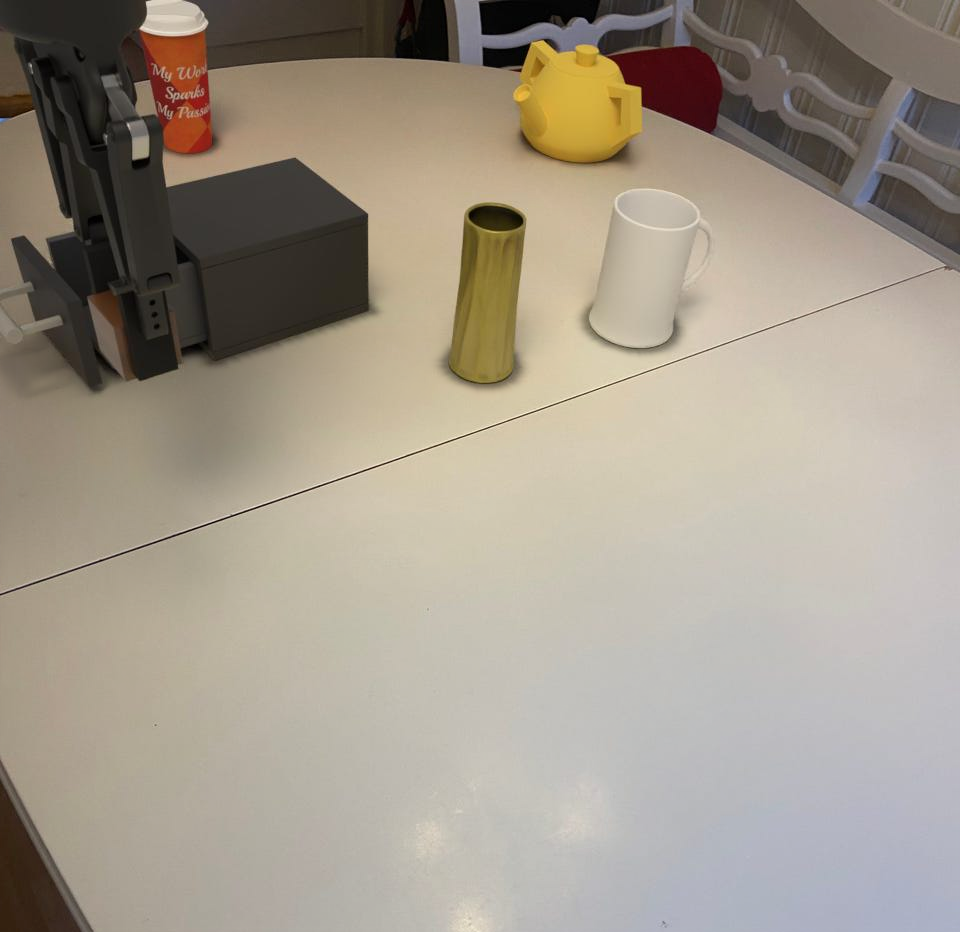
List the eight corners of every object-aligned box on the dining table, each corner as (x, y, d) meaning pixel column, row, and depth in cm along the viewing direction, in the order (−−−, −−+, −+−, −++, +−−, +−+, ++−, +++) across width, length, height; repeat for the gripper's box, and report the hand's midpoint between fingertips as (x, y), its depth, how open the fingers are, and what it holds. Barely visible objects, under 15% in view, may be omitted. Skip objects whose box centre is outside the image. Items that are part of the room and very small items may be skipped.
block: (125, 382, 62) (113, 327, 59) (99, 350, 64) (86, 295, 61) (183, 364, 64) (174, 310, 60) (156, 333, 65) (146, 279, 62)
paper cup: (162, 160, 111) (140, 24, 100) (148, 132, 115) (125, -2, 105) (229, 153, 114) (214, 19, 103) (213, 126, 118) (197, -5, 107)
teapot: (457, 132, 123) (463, 36, 114) (556, 103, 132) (568, 11, 123) (568, 195, 114) (584, 96, 106) (666, 158, 123) (688, 64, 115)
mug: (680, 296, 101) (710, 182, 92) (715, 341, 96) (751, 226, 87) (576, 305, 99) (597, 188, 89) (607, 352, 93) (632, 234, 84)
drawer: (34, 404, 80) (6, 319, 74) (-18, 336, 85) (-48, 252, 79) (252, 335, 89) (243, 254, 83) (193, 277, 94) (180, 197, 88)
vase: (469, 339, 93) (482, 192, 82) (524, 361, 91) (545, 214, 80) (436, 368, 89) (445, 219, 78) (493, 392, 88) (510, 243, 77)
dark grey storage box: (214, 361, 87) (199, 259, 80) (150, 295, 93) (131, 194, 86) (368, 310, 95) (368, 213, 87) (301, 252, 101) (295, 156, 93)
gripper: (209, -23, 43) (255, 404, 61) (58, -127, 51) (138, 278, 69) (44, -2, 40) (144, 443, 58) (-91, -117, 48) (34, 306, 66)
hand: (140, 353), depth 63 cm, fingers closed on block, 4 cm apart
